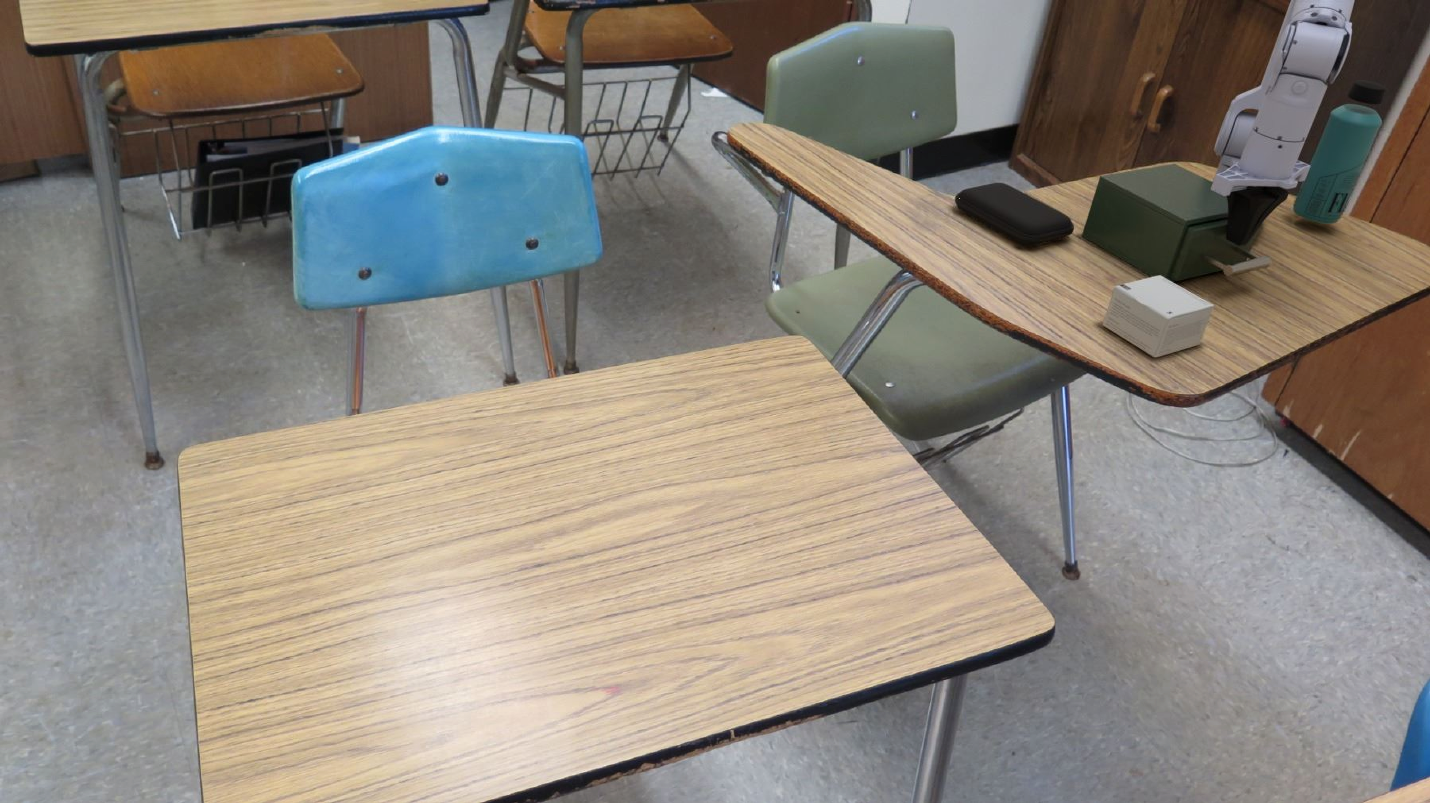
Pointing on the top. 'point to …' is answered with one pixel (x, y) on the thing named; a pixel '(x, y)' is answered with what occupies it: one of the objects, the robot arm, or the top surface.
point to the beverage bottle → (1340, 156)
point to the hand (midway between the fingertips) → (1236, 241)
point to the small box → (1157, 315)
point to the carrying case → (1014, 214)
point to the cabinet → (1150, 214)
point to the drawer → (1214, 253)
